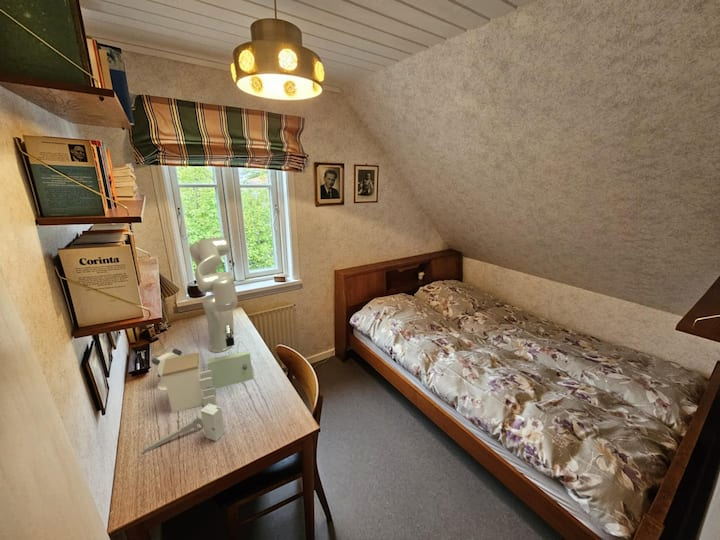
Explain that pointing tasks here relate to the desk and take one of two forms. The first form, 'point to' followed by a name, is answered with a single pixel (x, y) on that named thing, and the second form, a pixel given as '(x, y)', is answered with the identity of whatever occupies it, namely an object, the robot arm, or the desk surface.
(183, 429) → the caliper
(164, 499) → the desk surface
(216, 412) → the skincare box
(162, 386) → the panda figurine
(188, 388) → the cabinet
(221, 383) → the door
